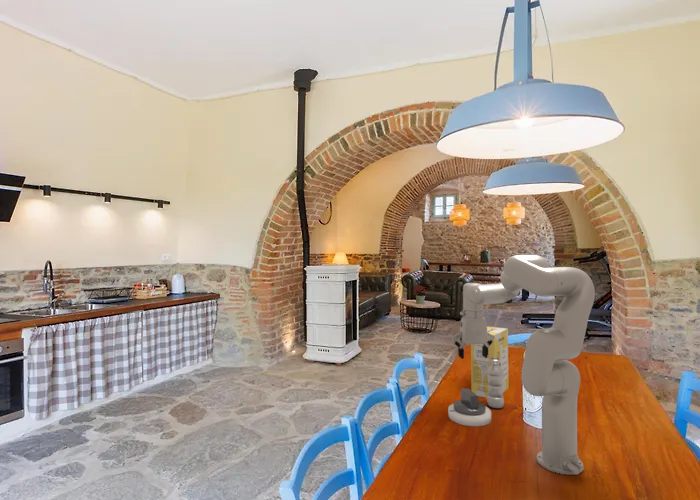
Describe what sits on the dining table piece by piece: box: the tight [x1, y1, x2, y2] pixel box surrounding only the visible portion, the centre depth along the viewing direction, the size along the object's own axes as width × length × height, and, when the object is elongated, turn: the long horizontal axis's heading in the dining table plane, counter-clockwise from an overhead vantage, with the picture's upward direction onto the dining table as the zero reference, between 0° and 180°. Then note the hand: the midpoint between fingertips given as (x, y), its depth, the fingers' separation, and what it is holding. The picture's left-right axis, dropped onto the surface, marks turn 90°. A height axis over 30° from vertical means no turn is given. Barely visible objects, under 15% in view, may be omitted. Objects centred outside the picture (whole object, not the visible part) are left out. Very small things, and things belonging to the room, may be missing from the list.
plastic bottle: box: [486, 358, 505, 409], centre depth 169 cm, size 6×7×20 cm
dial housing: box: [447, 403, 492, 427], centre depth 159 cm, size 16×16×3 cm
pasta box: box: [470, 326, 510, 399], centre depth 188 cm, size 18×10×28 cm, turn 141°
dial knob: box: [453, 387, 487, 415], centre depth 159 cm, size 12×12×6 cm
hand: (473, 357), depth 162 cm, fingers open, 9 cm apart
